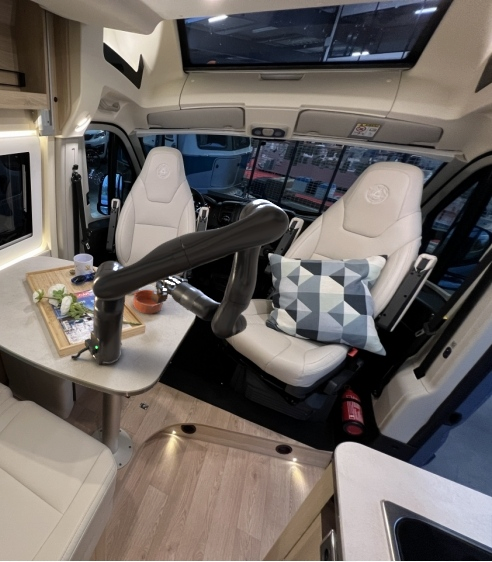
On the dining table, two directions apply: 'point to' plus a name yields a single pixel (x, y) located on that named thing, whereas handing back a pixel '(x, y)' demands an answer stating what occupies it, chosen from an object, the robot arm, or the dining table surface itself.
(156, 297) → the brown mallet
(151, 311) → the bowl
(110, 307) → the robot arm
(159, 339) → the dining table surface
